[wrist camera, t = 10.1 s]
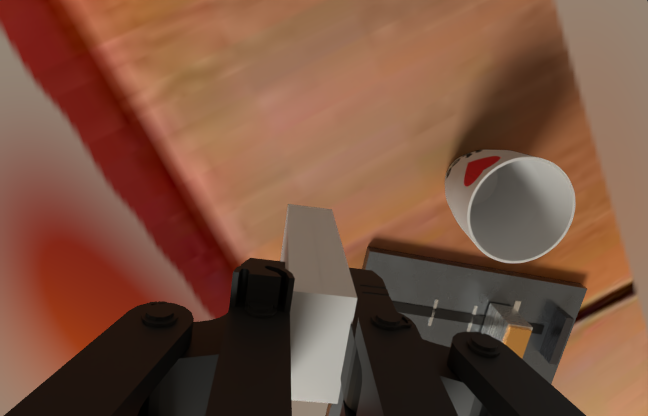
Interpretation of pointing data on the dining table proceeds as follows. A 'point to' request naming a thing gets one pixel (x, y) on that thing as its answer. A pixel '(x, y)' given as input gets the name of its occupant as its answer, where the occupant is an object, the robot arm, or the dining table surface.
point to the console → (476, 303)
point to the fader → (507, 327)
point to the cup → (510, 203)
